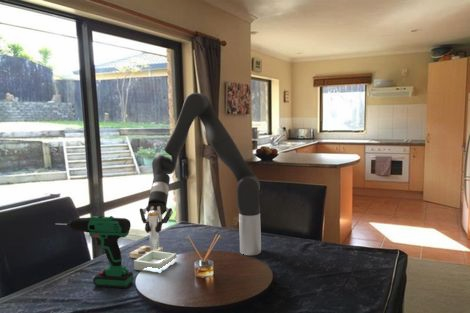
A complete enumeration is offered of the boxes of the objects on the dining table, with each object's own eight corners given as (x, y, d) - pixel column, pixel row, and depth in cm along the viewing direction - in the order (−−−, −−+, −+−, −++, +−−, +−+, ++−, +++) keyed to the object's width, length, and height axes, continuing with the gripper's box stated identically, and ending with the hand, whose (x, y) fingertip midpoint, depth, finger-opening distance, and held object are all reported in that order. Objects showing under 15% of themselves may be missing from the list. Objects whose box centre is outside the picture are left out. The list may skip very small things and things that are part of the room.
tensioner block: (143, 249, 167) (143, 243, 166) (162, 252, 163) (162, 245, 163) (129, 257, 157) (129, 251, 157) (149, 260, 154) (149, 253, 153)
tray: (152, 258, 156) (151, 250, 155) (176, 261, 151) (176, 253, 151) (134, 269, 144) (133, 260, 144) (160, 273, 140) (159, 264, 140)
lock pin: (153, 246, 149) (151, 209, 148) (161, 247, 148) (159, 210, 147) (148, 249, 146) (146, 212, 144) (155, 250, 145) (154, 212, 143)
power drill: (127, 289, 127) (123, 218, 125) (54, 284, 133) (49, 216, 131) (135, 282, 133) (131, 214, 130) (64, 277, 139) (59, 212, 136)
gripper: (140, 190, 152) (132, 227, 142) (174, 189, 152) (168, 227, 141) (144, 200, 158) (137, 236, 147) (177, 199, 158) (172, 236, 147)
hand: (152, 231), depth 144 cm, fingers closed on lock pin, 3 cm apart
